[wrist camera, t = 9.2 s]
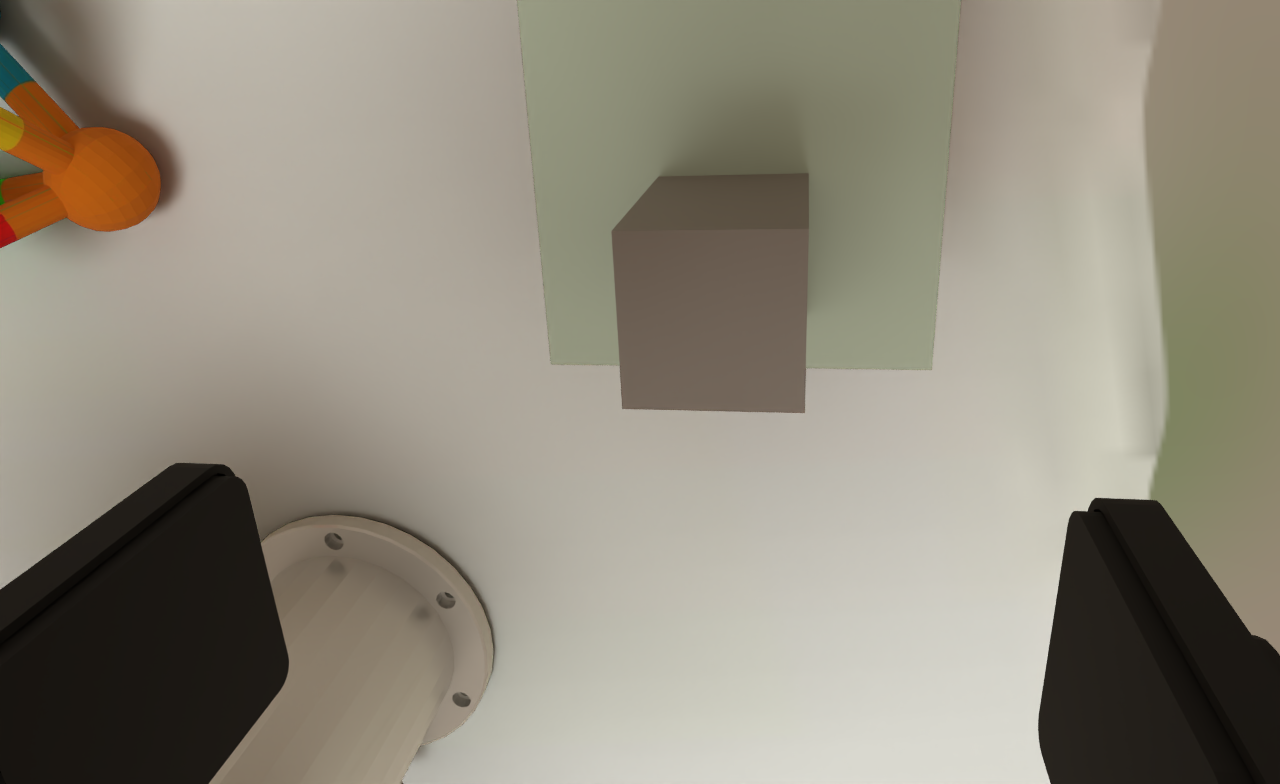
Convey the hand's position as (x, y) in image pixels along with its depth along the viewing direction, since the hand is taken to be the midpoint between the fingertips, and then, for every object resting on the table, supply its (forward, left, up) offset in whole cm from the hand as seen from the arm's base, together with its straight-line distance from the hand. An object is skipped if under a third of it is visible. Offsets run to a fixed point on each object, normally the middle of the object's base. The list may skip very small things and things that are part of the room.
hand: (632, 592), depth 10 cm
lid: (+7, 0, -17) cm, 18 cm away
